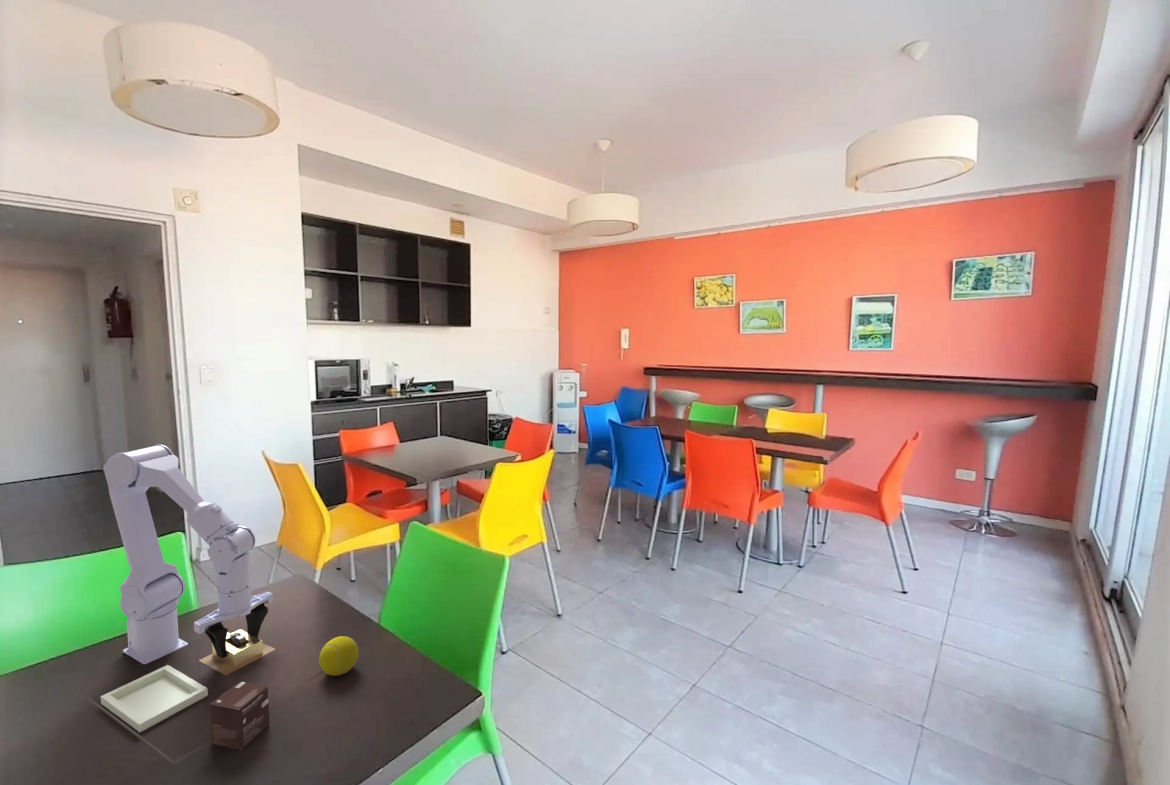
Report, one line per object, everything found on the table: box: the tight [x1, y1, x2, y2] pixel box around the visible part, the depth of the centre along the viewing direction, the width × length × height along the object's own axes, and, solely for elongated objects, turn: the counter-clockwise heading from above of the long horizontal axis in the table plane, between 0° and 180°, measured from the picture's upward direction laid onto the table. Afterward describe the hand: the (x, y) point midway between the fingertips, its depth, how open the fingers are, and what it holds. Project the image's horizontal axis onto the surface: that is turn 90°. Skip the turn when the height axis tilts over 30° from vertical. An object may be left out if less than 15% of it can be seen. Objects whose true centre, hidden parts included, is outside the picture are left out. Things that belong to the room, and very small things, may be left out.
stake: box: [230, 631, 246, 648], centre depth 108 cm, size 4×1×4 cm, turn 63°
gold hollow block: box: [211, 629, 263, 668], centre depth 109 cm, size 6×10×3 cm, turn 61°
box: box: [209, 681, 271, 750], centre depth 87 cm, size 6×6×7 cm
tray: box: [100, 664, 209, 734], centre depth 95 cm, size 14×10×2 cm
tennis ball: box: [318, 635, 359, 677], centre depth 104 cm, size 7×7×7 cm
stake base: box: [198, 642, 276, 677], centre depth 108 cm, size 10×10×1 cm
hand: (237, 648), depth 108 cm, fingers closed on gold hollow block, 6 cm apart
